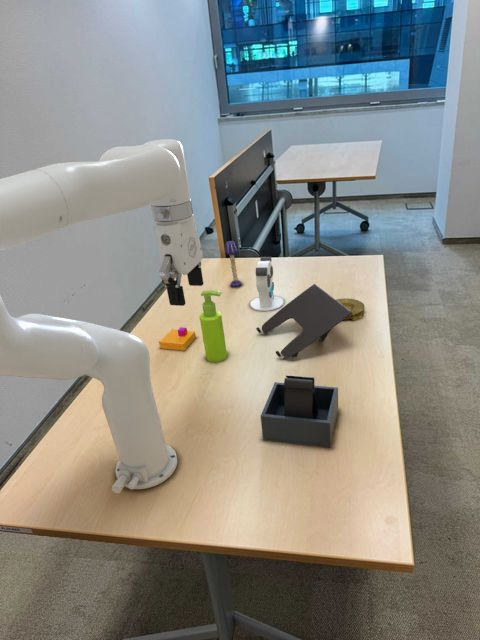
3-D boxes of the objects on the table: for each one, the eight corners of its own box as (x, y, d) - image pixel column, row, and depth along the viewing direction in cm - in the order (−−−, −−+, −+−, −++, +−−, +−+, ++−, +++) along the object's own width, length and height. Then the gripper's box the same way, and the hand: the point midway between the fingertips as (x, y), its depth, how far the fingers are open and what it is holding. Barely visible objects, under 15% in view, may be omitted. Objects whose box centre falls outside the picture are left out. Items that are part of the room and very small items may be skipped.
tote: (330, 447, 99) (330, 423, 96) (263, 440, 103) (260, 416, 100) (338, 410, 110) (338, 387, 106) (276, 404, 114) (274, 382, 110)
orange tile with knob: (184, 350, 139) (181, 338, 137) (160, 348, 142) (157, 335, 140) (196, 337, 146) (193, 325, 144) (173, 335, 148) (170, 323, 146)
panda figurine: (281, 311, 156) (277, 268, 149) (247, 311, 158) (242, 269, 151) (285, 296, 166) (282, 255, 159) (253, 296, 168) (249, 256, 161)
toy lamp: (227, 287, 178) (221, 244, 169) (231, 282, 182) (226, 239, 173) (239, 287, 176) (234, 244, 168) (243, 282, 180) (238, 239, 172)
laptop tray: (266, 343, 151) (251, 323, 145) (324, 299, 151) (311, 278, 146) (296, 380, 132) (280, 359, 127) (362, 330, 132) (349, 306, 127)
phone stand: (292, 408, 111) (289, 365, 105) (318, 411, 109) (316, 367, 103) (283, 433, 103) (280, 388, 97) (311, 437, 102) (309, 391, 96)
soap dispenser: (227, 362, 132) (218, 296, 122) (203, 361, 133) (192, 296, 123) (232, 351, 137) (224, 287, 127) (209, 350, 138) (199, 287, 128)
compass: (324, 321, 148) (324, 314, 147) (327, 304, 158) (327, 298, 157) (364, 321, 146) (364, 315, 145) (364, 304, 156) (364, 298, 155)
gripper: (171, 224, 82) (187, 314, 90) (207, 199, 96) (218, 278, 105) (132, 225, 84) (152, 312, 92) (173, 200, 98) (187, 278, 107)
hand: (187, 294), depth 98 cm, fingers open, 9 cm apart
